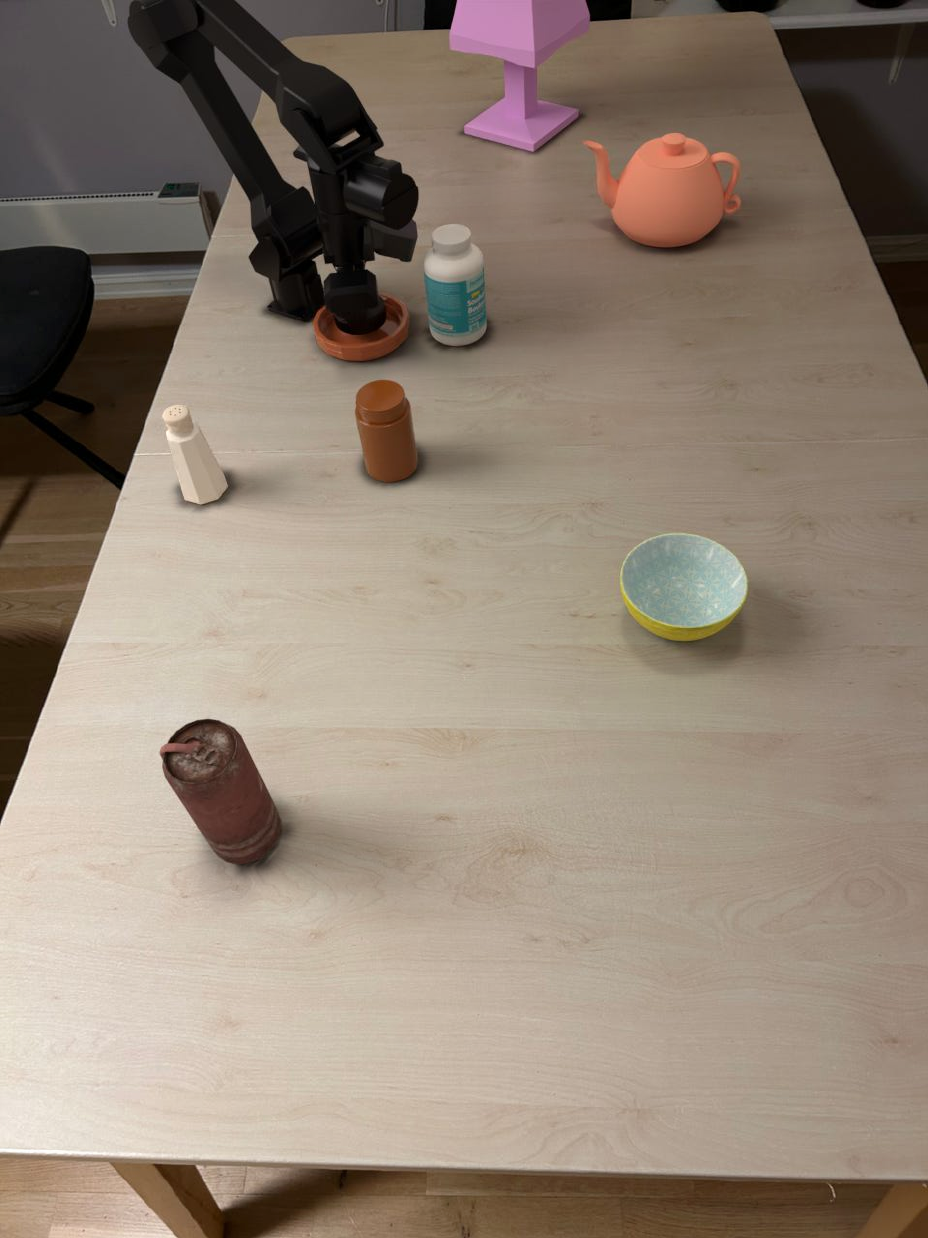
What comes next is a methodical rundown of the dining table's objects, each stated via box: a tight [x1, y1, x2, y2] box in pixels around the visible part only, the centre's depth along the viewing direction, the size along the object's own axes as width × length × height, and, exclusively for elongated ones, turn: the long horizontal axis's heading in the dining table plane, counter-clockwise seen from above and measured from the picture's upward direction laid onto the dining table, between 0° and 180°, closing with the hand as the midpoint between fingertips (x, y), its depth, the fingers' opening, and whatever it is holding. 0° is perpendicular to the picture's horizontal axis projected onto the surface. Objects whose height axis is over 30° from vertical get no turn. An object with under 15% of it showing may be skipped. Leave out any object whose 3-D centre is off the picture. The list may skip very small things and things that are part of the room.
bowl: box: [619, 532, 749, 642], centre depth 88 cm, size 11×12×6 cm
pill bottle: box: [422, 223, 488, 347], centre depth 116 cm, size 8×7×14 cm
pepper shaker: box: [162, 404, 229, 505], centre depth 102 cm, size 5×5×11 cm
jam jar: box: [354, 379, 419, 483], centre depth 103 cm, size 6×6×10 cm
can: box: [158, 718, 282, 865], centre depth 74 cm, size 6×6×14 cm
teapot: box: [582, 132, 742, 248], centre depth 129 cm, size 22×16×12 cm
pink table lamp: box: [448, 0, 591, 153], centre depth 142 cm, size 16×16×35 cm
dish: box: [312, 291, 411, 362], centre depth 121 cm, size 12×12×2 cm
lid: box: [333, 295, 387, 335], centre depth 119 cm, size 7×7×2 cm
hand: (360, 318), depth 120 cm, fingers closed on lid, 6 cm apart
